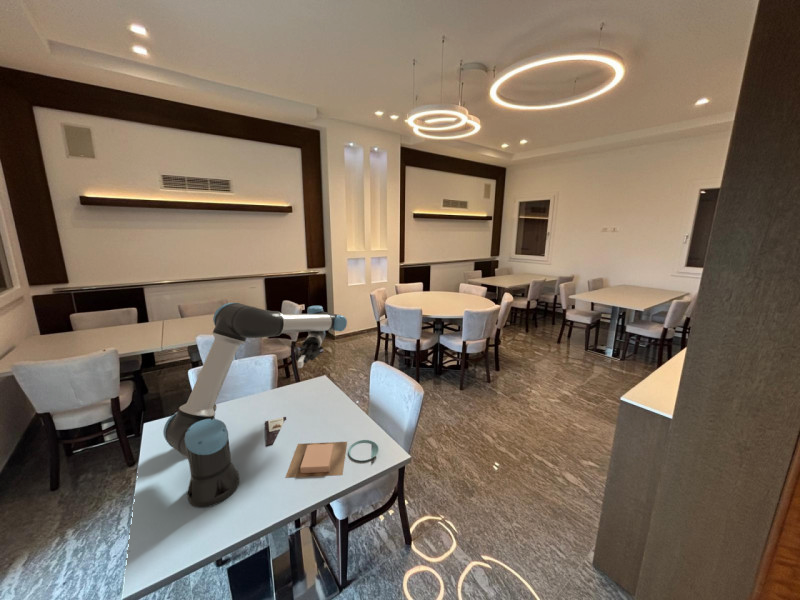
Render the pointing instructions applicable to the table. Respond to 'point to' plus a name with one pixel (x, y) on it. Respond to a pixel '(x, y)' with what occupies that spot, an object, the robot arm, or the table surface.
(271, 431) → the chocolate bar
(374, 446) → the saucer
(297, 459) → the board
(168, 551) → the table surface
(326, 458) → the tile
